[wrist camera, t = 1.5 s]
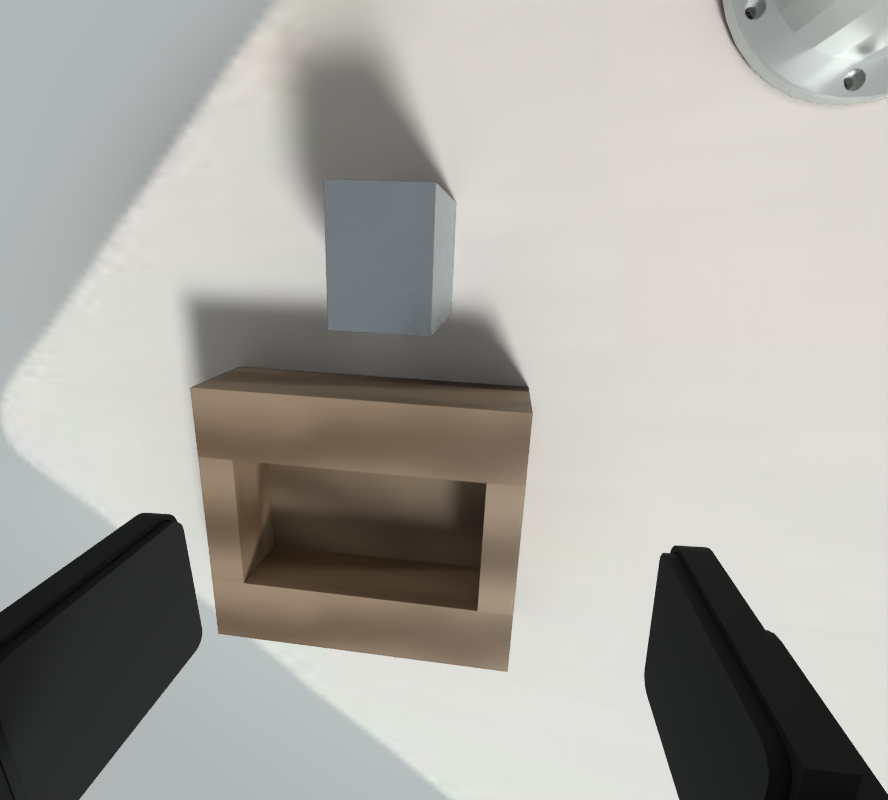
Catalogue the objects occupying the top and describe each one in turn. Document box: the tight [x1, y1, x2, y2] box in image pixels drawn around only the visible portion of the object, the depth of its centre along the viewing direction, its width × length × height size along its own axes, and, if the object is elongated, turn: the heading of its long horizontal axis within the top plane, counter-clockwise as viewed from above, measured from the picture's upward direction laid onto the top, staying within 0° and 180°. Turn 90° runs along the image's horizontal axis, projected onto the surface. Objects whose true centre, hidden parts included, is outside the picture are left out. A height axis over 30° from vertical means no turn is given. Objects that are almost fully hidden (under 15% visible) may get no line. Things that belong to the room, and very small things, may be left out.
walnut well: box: [190, 367, 533, 672], centre depth 30 cm, size 16×18×5 cm
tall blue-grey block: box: [324, 179, 456, 336], centre depth 24 cm, size 6×4×8 cm
